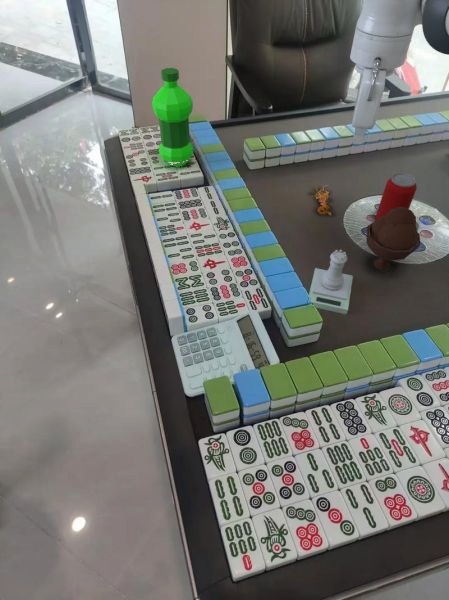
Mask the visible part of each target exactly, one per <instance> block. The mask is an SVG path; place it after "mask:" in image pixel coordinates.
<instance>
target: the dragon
mask: <svg viewBox="0 0 449 600" xmlns="http://www.w3.org/2000/svg"><path fill="white" fill-rule="evenodd" d="M326 186H328V184H326V185H324V186H323V185H322V186H321V188H320V190H319V191H318V188H317V187H316V186H314V189H315V190H316V191H317V193H316V194H315V195H311V198H313V197H315V199H318V202H319V203H320V204H319V205H320V206H319V207H318V209H317V213H318V214H319V215H327V214H328V216H329V215H330V216H332V212H329V210H330V209H331V207H330V206H329V205H327V204H328V202H331V201H330V200H329V194H330V191H327V190H325V189H323V191H322V188H324V187H326Z"/></svg>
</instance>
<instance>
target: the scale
mask: <svg viewBox="0 0 449 600" xmlns="http://www.w3.org/2000/svg"><path fill="white" fill-rule="evenodd" d="M327 270H328V269H321V268H317V267H315V268H314V271H313V276H312V280H311V285H310V288H309V293H308V297H310V298H311V301H312V303H313V305H314V306H315V307H316V309H320V310H324V311H329V312H334V313H338V314H341V315H347V314H348V311H349V307H350V299H351V293H352V286H353V279H354V275H351V274H347V273H342V274H343V278H344V281H343V286H342V287H341V288H339V289H336V290H331V289H328V288H326V287H325V286H324V285H323V284H322V281H321V279H322V276H323V274H324V273H325V272H326V271H327ZM315 307H314V308H315Z"/></svg>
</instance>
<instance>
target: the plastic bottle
mask: <svg viewBox="0 0 449 600" xmlns="http://www.w3.org/2000/svg"><path fill="white" fill-rule="evenodd" d="M179 72H180V71H179V70H178V68H176V67H175V68H174V67H166V68H162V69H161V72H160V73H161V74H160V75H161V80H162V81H163V82H164V83H163V84H164V85H163V86H161V88H160V89H159V90H158V91H157V92H156V93H155V95H154V96H153V98H152V102H151V106H152V111H153V113H154V115H155V116H156V117H157V118H158V125H159V133H160V134H159V135H160V144H159V145H158V146H159V147H158V155H159V156H160V158H161V159H162V158H163V159H162V161H163V162H164V163H165V164H167V165H169V166H170V164H171V163H168V162H165V161H164V160H166V161H170V162H183V161H186V160H189V159H190V158H191V159H192V157H193V155H194V152H195V149H194V145H193V144H192V142H191V140H190V137H191V136H190V123H189V121H190V120H189V118H190V116H191V113H192V112H193V107H194V104H193V99H192V97H191V95H190V94H189V93H188V92H187V91H186V90H185V89H184V88H182V87H181V86H180V85H178V80H179V79H180V73H179ZM192 154H193V155H192ZM191 156H192V157H191ZM191 159H190V160H189V161H186V162H184V163H179V164H173V166H176V167H175V168H181V167H184V166H186V164H188V163H189V162H190V161H191ZM183 165H184V166H183ZM180 166H181V167H180Z"/></svg>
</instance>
